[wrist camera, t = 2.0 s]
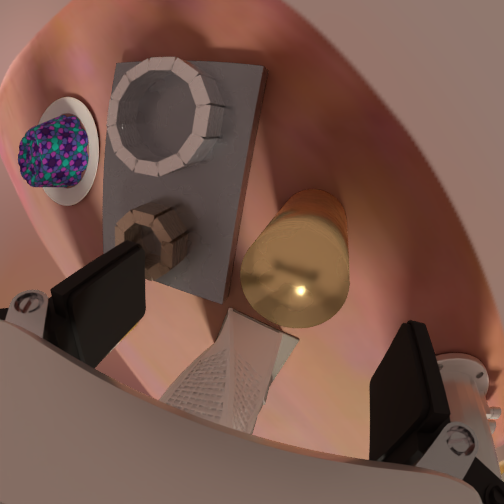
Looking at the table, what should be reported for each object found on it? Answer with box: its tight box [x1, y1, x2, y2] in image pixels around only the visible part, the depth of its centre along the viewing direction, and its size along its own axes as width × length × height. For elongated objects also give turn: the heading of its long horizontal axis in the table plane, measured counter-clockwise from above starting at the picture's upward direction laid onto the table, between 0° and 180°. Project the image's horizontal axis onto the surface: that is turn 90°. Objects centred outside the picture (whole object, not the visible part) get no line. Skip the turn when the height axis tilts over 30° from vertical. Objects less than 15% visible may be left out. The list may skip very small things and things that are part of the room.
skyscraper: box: [159, 307, 299, 435], centre depth 16 cm, size 8×8×28 cm
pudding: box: [18, 97, 99, 206], centre depth 25 cm, size 12×12×5 cm
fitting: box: [240, 189, 350, 328], centre depth 18 cm, size 5×5×10 cm
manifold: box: [103, 57, 269, 304], centre depth 22 cm, size 13×19×4 cm
